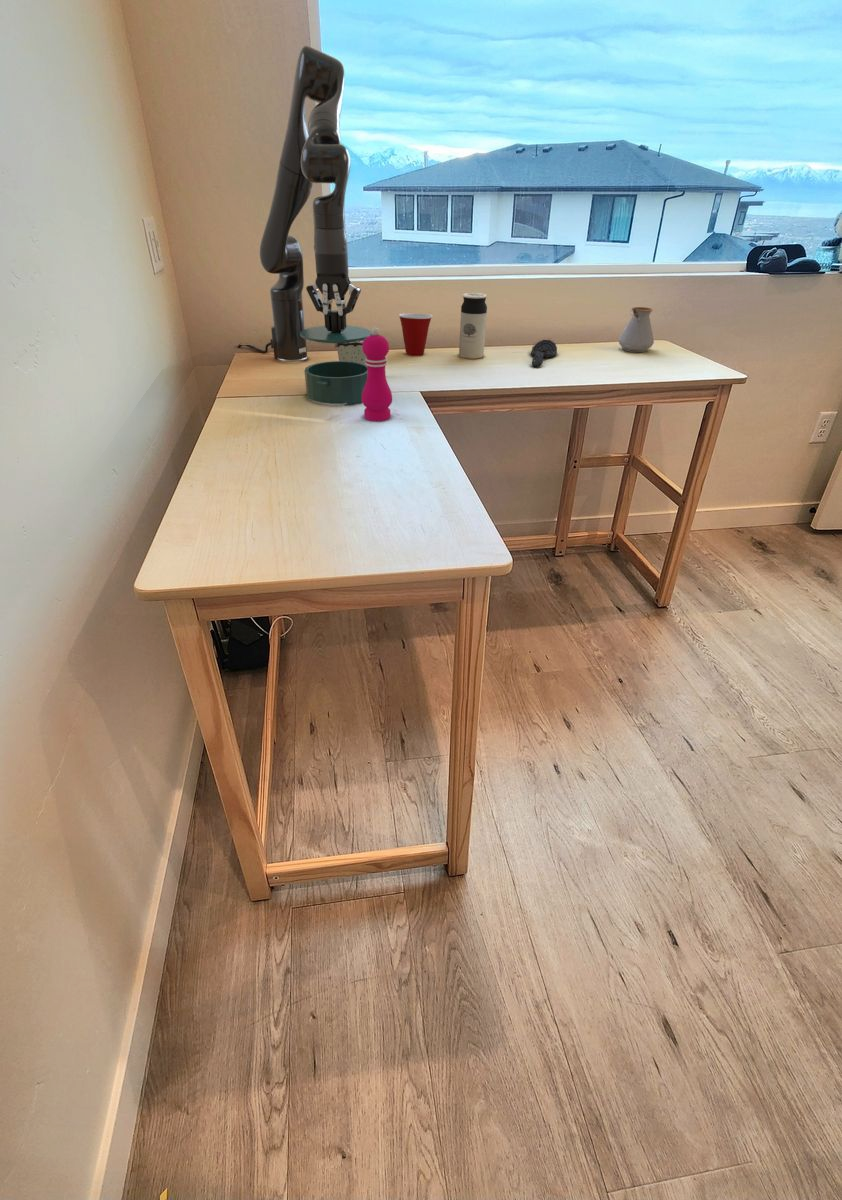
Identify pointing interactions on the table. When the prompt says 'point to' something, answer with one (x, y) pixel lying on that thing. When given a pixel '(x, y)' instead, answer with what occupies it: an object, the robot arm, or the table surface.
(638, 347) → the coffee pot
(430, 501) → the table surface
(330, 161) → the robot arm
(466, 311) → the travel mug
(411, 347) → the plastic cup
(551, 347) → the hairbrush
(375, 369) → the pepper mill
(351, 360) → the food container
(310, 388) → the pot
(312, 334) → the pot lid
